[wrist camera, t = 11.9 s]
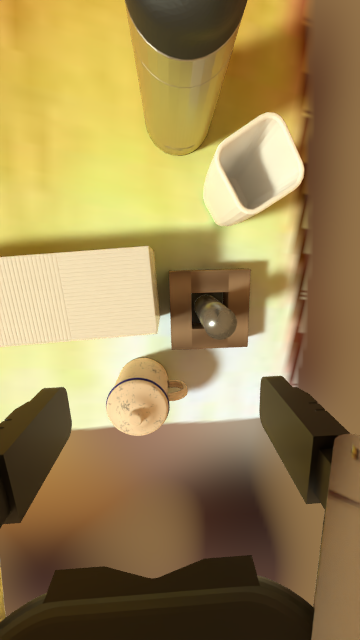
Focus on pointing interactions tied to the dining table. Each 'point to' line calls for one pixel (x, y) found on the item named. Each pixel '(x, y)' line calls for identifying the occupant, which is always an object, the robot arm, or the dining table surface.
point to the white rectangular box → (78, 296)
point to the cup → (252, 170)
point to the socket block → (204, 281)
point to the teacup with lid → (142, 397)
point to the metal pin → (215, 317)
